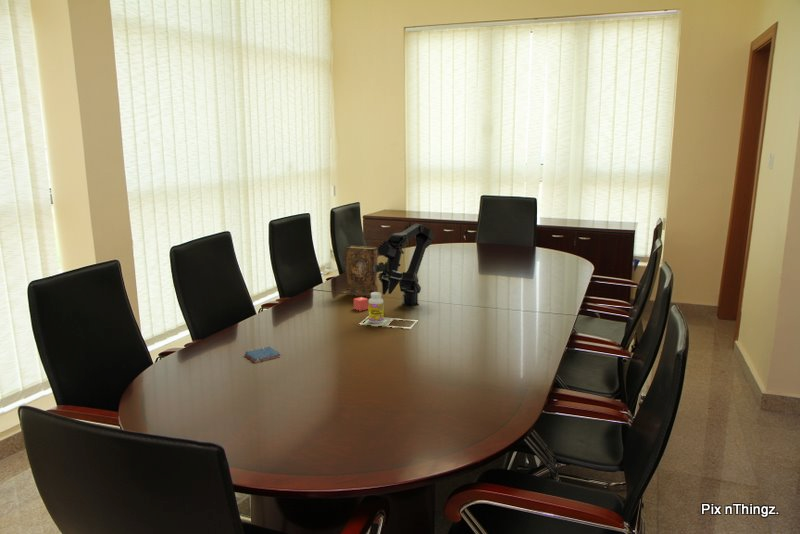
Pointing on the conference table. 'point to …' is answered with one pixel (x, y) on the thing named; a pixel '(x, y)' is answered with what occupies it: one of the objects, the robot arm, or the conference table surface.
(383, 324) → the silver picture frame
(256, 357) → the woven mat
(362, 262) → the book
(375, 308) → the supplement bottle
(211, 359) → the conference table surface
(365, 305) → the red die
